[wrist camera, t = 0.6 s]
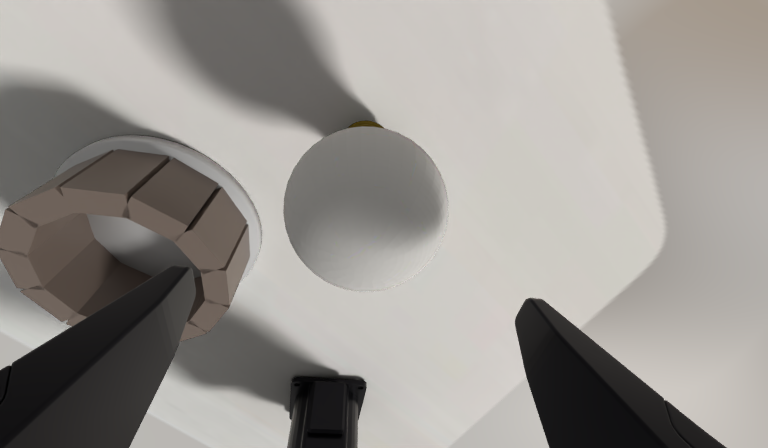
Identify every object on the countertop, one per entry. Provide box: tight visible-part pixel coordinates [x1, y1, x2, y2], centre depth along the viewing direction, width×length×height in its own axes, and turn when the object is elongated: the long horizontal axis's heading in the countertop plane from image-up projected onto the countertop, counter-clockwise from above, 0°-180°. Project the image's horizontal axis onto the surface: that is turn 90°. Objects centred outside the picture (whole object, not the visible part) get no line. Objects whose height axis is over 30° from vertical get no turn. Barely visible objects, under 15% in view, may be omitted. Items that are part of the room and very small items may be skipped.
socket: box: [0, 135, 262, 341], centre depth 19 cm, size 11×11×5 cm
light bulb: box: [284, 121, 448, 292], centre depth 15 cm, size 6×6×10 cm
